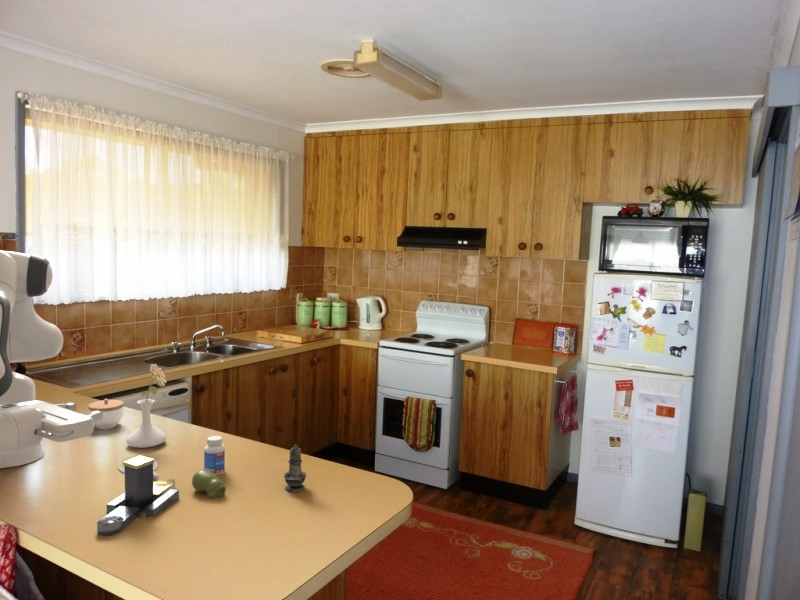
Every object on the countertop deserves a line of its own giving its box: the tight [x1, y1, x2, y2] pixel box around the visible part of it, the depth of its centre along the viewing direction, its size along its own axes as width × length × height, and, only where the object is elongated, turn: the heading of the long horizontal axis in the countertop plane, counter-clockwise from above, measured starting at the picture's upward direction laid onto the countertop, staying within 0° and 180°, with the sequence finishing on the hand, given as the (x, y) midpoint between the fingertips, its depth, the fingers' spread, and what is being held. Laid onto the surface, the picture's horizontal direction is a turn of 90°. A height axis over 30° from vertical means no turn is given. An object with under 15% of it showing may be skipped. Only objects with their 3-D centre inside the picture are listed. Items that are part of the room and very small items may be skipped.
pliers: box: [117, 459, 160, 481], centre depth 161 cm, size 10×2×15 cm
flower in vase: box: [126, 363, 167, 449], centre depth 181 cm, size 13×11×25 cm
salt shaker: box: [283, 443, 307, 494], centre depth 153 cm, size 6×6×12 cm
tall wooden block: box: [122, 455, 155, 514], centre depth 139 cm, size 5×5×12 cm
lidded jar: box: [87, 398, 125, 430], centre depth 198 cm, size 11×11×9 cm
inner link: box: [153, 477, 176, 501], centre depth 148 cm, size 10×5×2 cm, turn 171°
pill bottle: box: [203, 435, 226, 476], centre depth 162 cm, size 6×5×10 cm
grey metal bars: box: [96, 488, 180, 537], centre depth 137 cm, size 21×12×2 cm, turn 171°
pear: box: [191, 469, 227, 499], centre depth 149 cm, size 6×5×10 cm
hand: (87, 410), depth 130 cm, fingers open, 8 cm apart
